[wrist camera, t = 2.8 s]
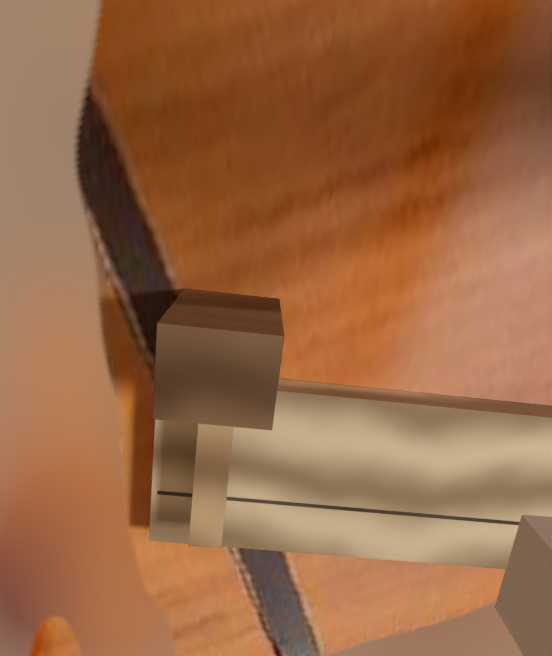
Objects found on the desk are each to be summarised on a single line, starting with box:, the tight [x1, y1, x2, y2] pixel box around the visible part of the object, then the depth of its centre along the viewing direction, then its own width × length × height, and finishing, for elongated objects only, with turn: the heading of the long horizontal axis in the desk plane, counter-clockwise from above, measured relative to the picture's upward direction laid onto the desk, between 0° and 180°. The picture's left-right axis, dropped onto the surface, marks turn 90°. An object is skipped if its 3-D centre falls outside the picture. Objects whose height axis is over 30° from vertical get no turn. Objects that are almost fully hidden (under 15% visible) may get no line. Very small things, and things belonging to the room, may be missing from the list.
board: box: [149, 379, 552, 569], centre depth 33 cm, size 12×28×2 cm, turn 83°
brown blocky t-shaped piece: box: [152, 288, 284, 548], centre depth 29 cm, size 15×6×8 cm, turn 173°
